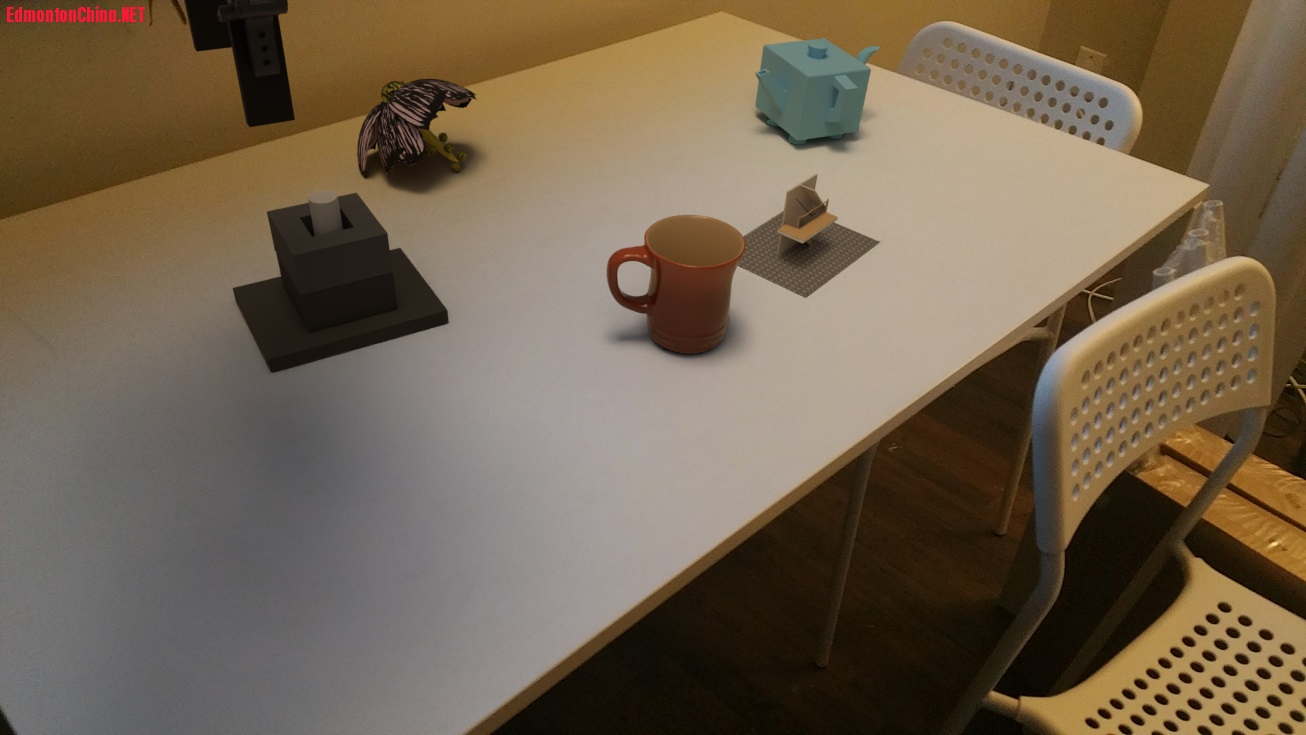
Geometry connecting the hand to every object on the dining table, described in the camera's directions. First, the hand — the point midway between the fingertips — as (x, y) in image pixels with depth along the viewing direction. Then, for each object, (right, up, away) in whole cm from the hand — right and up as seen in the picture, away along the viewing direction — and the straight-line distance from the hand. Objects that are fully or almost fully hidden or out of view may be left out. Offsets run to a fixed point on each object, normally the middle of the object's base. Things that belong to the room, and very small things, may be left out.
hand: (241, 82), depth 64 cm
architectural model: (+43, -6, +41) cm, 59 cm away
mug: (+28, -16, +27) cm, 42 cm away
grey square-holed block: (-1, -9, +23) cm, 25 cm away
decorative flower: (0, +4, +50) cm, 50 cm away
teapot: (+47, +12, +64) cm, 81 cm away
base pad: (-2, -14, +26) cm, 30 cm away
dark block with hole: (-2, -12, +26) cm, 28 cm away
